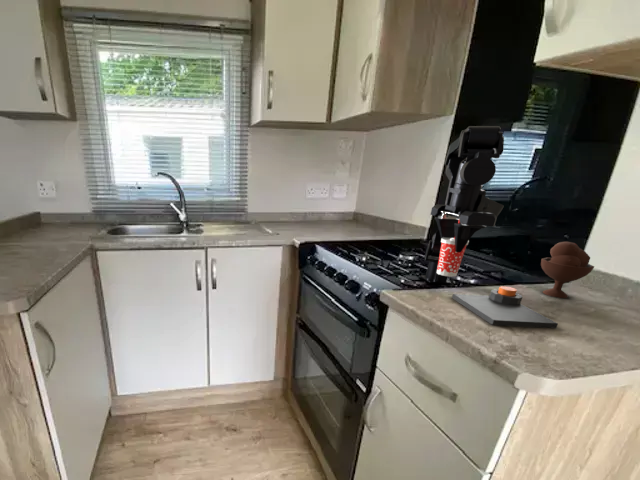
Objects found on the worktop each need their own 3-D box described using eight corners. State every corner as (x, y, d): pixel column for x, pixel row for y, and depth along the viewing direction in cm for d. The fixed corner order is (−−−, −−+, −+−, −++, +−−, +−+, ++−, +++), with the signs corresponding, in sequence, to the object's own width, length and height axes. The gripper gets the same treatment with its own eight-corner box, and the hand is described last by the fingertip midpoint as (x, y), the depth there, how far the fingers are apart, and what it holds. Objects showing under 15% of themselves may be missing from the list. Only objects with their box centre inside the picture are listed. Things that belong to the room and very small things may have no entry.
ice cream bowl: (562, 302, 94) (584, 247, 89) (521, 289, 104) (539, 238, 99) (590, 300, 97) (613, 246, 92) (547, 287, 107) (566, 238, 101)
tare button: (494, 292, 92) (496, 285, 91) (508, 292, 92) (510, 286, 91) (503, 297, 88) (505, 290, 88) (518, 297, 88) (520, 291, 88)
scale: (451, 297, 94) (454, 287, 93) (507, 300, 94) (510, 289, 93) (492, 325, 78) (496, 312, 77) (559, 328, 78) (564, 316, 77)
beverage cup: (428, 270, 95) (441, 217, 90) (451, 271, 95) (465, 218, 90) (440, 276, 89) (454, 220, 84) (465, 278, 89) (480, 221, 84)
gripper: (531, 188, 75) (508, 260, 80) (480, 184, 92) (463, 243, 98) (478, 186, 75) (458, 257, 81) (436, 182, 93) (423, 241, 98)
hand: (451, 249), depth 89 cm, fingers closed on beverage cup, 6 cm apart
